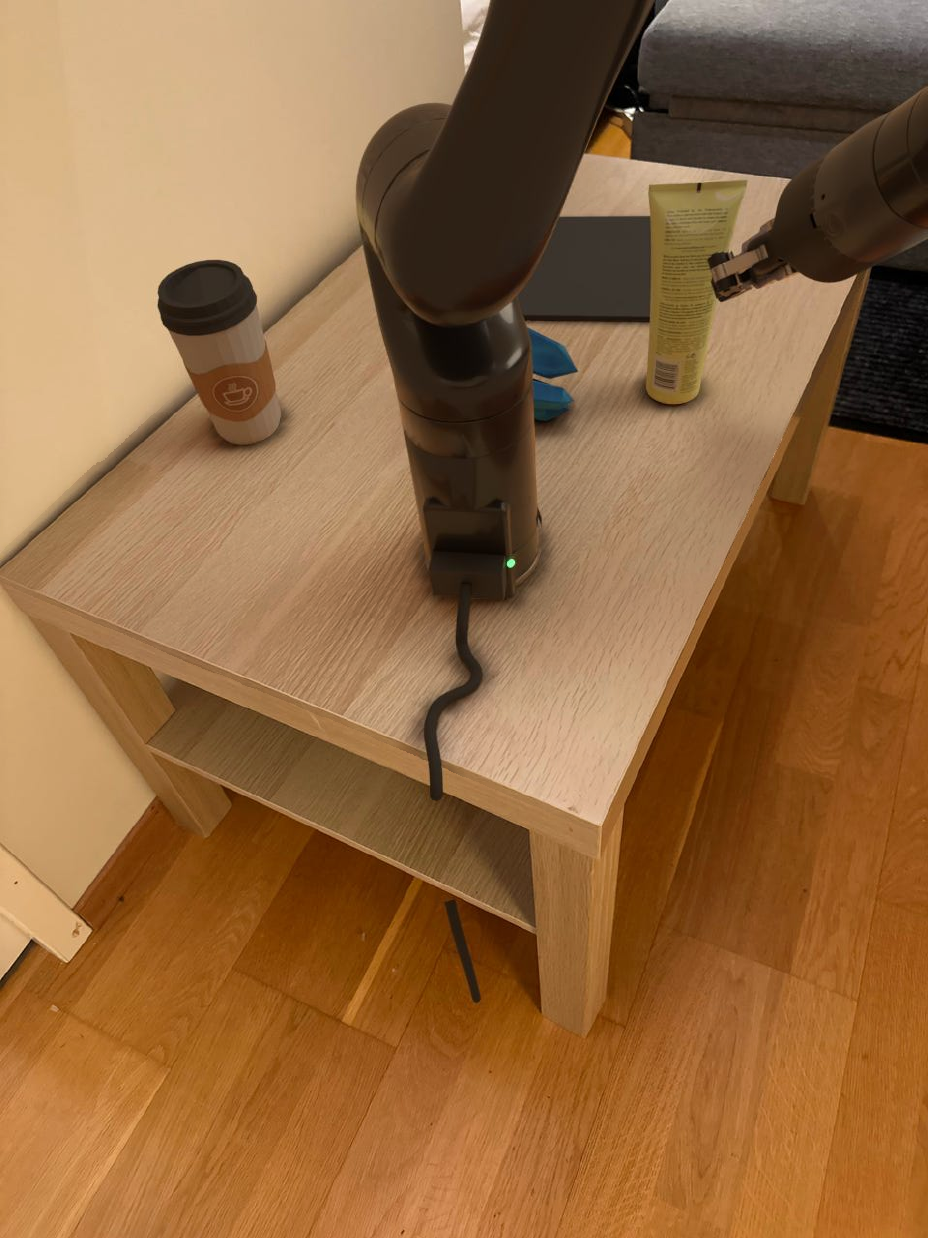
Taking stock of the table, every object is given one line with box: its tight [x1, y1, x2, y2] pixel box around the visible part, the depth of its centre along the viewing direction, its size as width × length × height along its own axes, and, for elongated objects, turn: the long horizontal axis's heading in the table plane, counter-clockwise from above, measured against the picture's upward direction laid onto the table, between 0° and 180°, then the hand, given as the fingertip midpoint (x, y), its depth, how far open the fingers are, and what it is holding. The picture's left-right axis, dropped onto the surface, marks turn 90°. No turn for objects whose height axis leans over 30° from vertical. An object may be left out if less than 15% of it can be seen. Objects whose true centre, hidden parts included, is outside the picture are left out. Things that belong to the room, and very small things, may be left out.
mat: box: [517, 215, 651, 322], centre depth 98 cm, size 20×22×1 cm
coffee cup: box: [156, 259, 282, 445], centre depth 81 cm, size 8×8×15 cm
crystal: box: [527, 326, 579, 422], centre depth 81 cm, size 7×9×12 cm
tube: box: [645, 178, 748, 405], centre depth 76 cm, size 6×5×20 cm
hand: (722, 287), depth 71 cm, fingers closed
